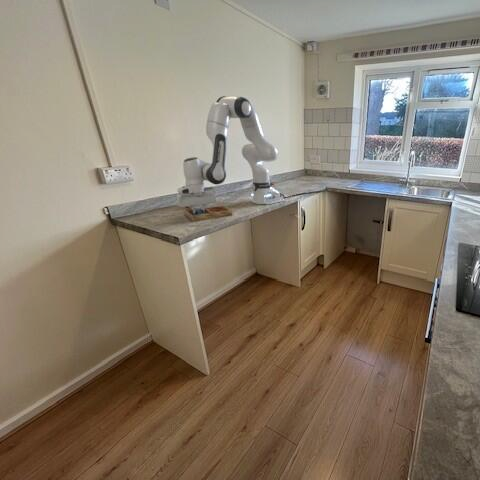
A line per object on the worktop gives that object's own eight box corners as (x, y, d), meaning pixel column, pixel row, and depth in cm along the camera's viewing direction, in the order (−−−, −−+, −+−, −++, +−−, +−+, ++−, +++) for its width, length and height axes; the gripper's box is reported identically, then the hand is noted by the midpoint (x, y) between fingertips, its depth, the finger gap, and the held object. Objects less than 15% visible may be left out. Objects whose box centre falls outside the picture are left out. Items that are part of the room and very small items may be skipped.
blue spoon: (193, 213, 151) (193, 208, 150) (200, 212, 153) (199, 207, 152) (198, 217, 143) (197, 212, 142) (205, 216, 146) (204, 211, 144)
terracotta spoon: (186, 209, 161) (185, 205, 160) (192, 208, 163) (192, 204, 162) (191, 213, 153) (190, 208, 152) (197, 212, 156) (196, 207, 154)
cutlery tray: (223, 209, 163) (223, 205, 162) (232, 215, 153) (231, 210, 152) (185, 215, 150) (185, 210, 149) (192, 221, 140) (191, 216, 139)
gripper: (212, 185, 151) (215, 208, 156) (174, 189, 139) (178, 214, 144) (216, 187, 146) (219, 211, 151) (176, 191, 134) (181, 216, 139)
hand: (199, 212), depth 148 cm, fingers open, 3 cm apart
